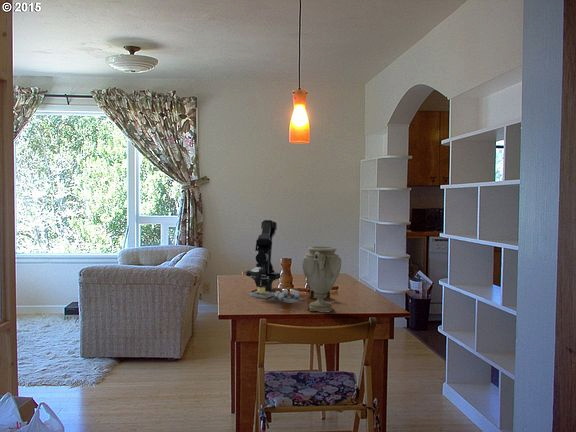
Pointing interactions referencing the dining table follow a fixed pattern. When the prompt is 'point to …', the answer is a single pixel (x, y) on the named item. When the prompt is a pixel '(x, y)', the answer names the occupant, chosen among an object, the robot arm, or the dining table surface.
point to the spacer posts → (283, 294)
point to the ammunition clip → (313, 296)
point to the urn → (321, 274)
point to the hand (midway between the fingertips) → (262, 290)
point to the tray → (261, 295)
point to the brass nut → (261, 290)
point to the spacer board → (288, 299)
